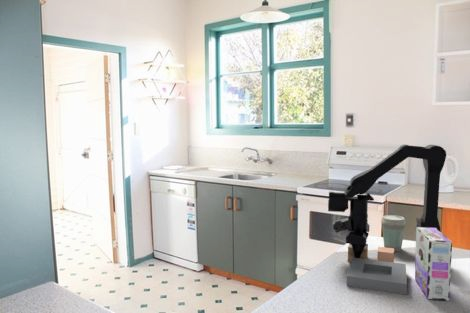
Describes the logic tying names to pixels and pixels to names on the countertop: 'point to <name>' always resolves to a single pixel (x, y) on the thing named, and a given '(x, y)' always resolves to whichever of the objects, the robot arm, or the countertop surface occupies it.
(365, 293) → the countertop surface
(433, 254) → the candy box
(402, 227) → the coffee cup
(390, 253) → the peach cube
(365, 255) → the walnut block
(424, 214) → the robot arm
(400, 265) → the grey slotted square board
